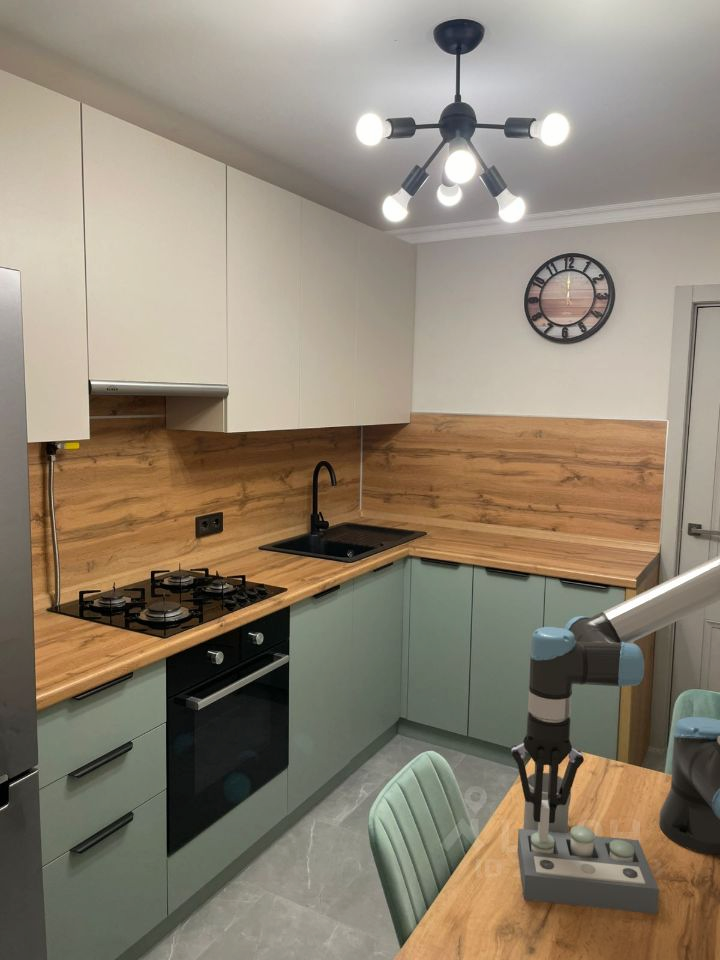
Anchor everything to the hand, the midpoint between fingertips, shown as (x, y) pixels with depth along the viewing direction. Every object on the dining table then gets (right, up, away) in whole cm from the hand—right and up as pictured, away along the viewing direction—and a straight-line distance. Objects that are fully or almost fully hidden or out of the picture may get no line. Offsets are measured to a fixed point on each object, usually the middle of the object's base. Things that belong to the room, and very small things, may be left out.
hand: (542, 837), depth 133 cm
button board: (+7, -6, -3) cm, 9 cm away
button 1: (0, -5, 0) cm, 5 cm away
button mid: (+7, -3, -1) cm, 7 cm away
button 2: (+14, -5, -1) cm, 15 cm away
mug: (+5, -5, +12) cm, 14 cm away
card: (+6, -2, -7) cm, 10 cm away
